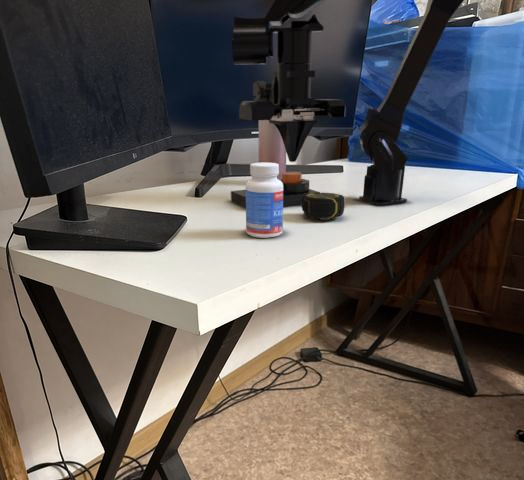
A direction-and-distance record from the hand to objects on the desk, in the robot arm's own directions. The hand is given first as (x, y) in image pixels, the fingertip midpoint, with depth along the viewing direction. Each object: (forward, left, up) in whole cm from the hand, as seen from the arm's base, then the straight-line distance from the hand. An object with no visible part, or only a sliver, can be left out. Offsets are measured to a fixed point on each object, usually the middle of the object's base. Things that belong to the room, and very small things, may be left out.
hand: (292, 161), depth 93 cm
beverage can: (-5, -18, -7) cm, 20 cm away
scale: (+4, 0, -7) cm, 8 cm away
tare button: (0, 0, -4) cm, 4 cm away
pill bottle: (+16, +19, -7) cm, 26 cm away
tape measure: (+3, +14, -7) cm, 16 cm away
